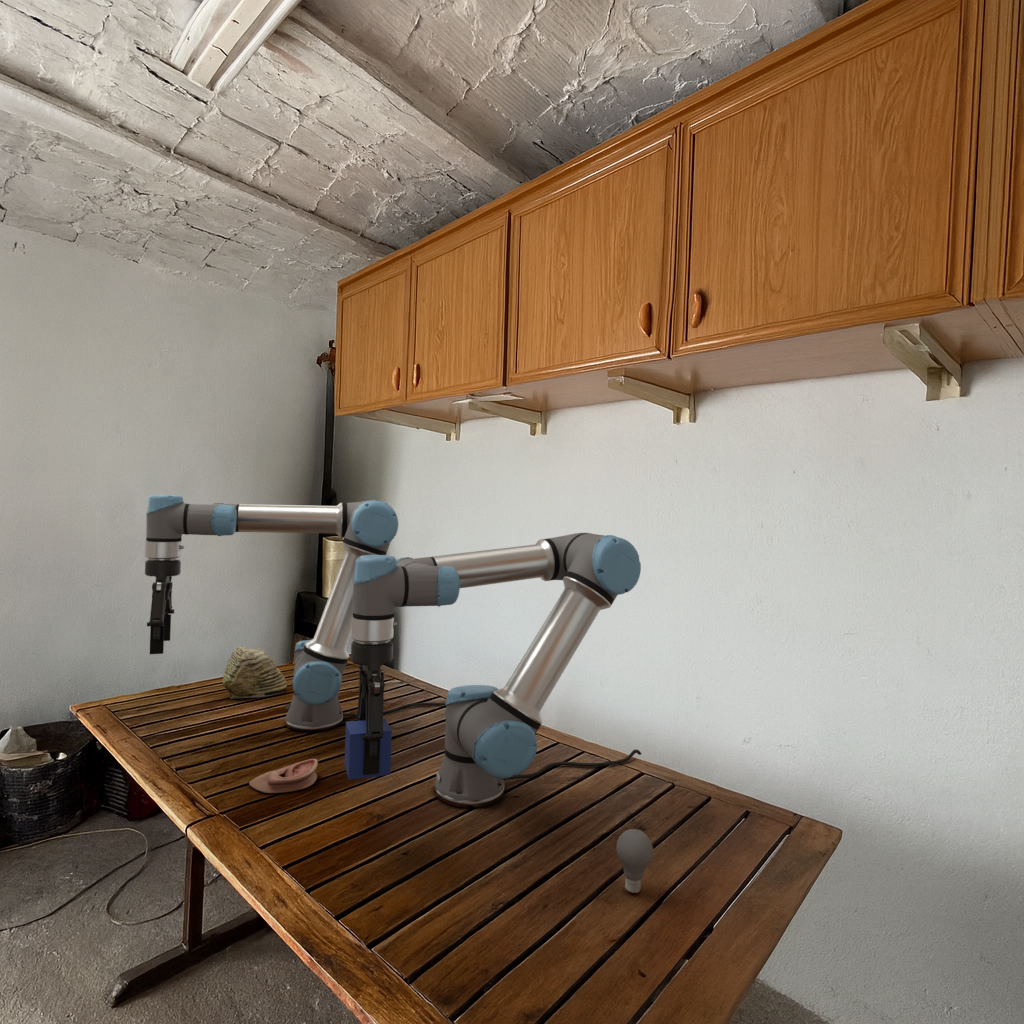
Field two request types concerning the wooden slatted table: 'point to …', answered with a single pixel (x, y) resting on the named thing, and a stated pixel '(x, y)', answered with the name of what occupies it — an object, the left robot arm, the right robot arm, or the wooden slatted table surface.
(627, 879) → the light bulb
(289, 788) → the anatomical model
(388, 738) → the block
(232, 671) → the fossil
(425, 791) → the wooden slatted table surface
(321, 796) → the wooden slatted table surface
